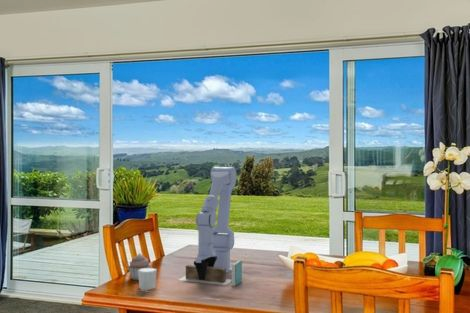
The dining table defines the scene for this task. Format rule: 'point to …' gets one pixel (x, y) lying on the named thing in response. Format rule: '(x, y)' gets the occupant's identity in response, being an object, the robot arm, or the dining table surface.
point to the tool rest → (206, 281)
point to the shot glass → (147, 278)
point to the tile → (236, 273)
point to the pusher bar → (207, 273)
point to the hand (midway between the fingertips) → (205, 277)
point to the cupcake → (138, 265)
